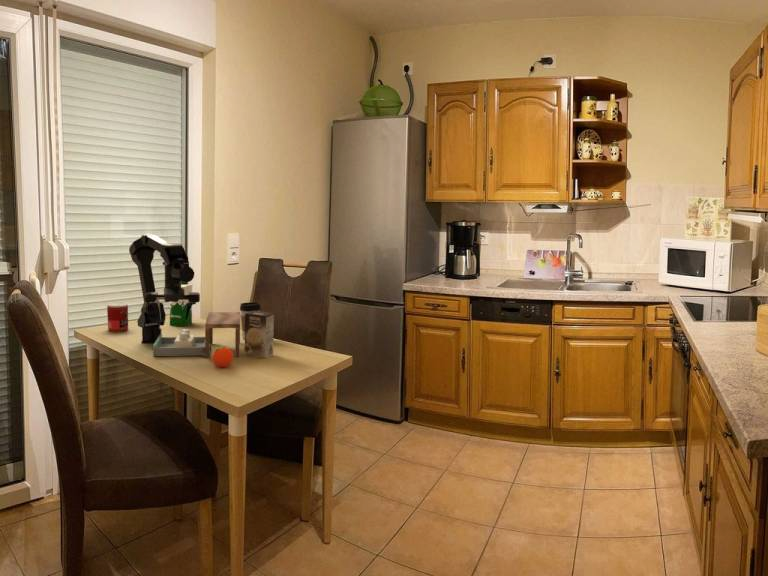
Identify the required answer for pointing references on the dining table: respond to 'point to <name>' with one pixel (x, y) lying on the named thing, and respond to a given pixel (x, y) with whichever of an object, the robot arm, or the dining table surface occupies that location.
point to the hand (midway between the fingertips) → (173, 320)
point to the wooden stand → (222, 322)
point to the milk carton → (181, 308)
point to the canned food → (117, 316)
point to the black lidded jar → (245, 309)
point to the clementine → (222, 356)
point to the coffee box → (259, 334)
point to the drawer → (166, 347)
